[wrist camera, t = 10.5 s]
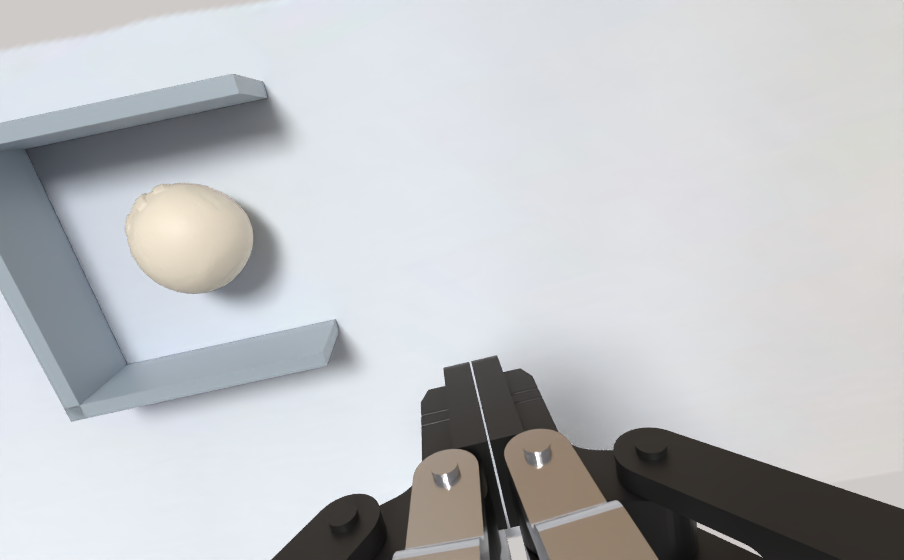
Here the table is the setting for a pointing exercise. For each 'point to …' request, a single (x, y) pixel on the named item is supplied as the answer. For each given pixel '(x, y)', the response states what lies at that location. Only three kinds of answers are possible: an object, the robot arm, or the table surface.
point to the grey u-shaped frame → (69, 294)
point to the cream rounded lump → (189, 237)
